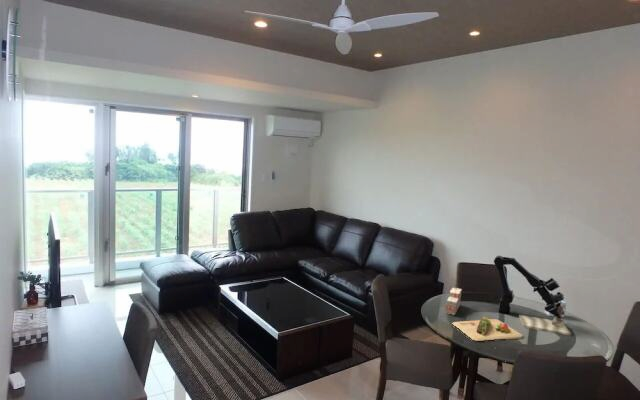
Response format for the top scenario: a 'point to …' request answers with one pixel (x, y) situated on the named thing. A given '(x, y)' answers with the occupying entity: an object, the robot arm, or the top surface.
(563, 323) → the block
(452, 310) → the stack of blocks
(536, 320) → the plywood board
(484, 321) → the cutting board
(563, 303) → the light bulb box
